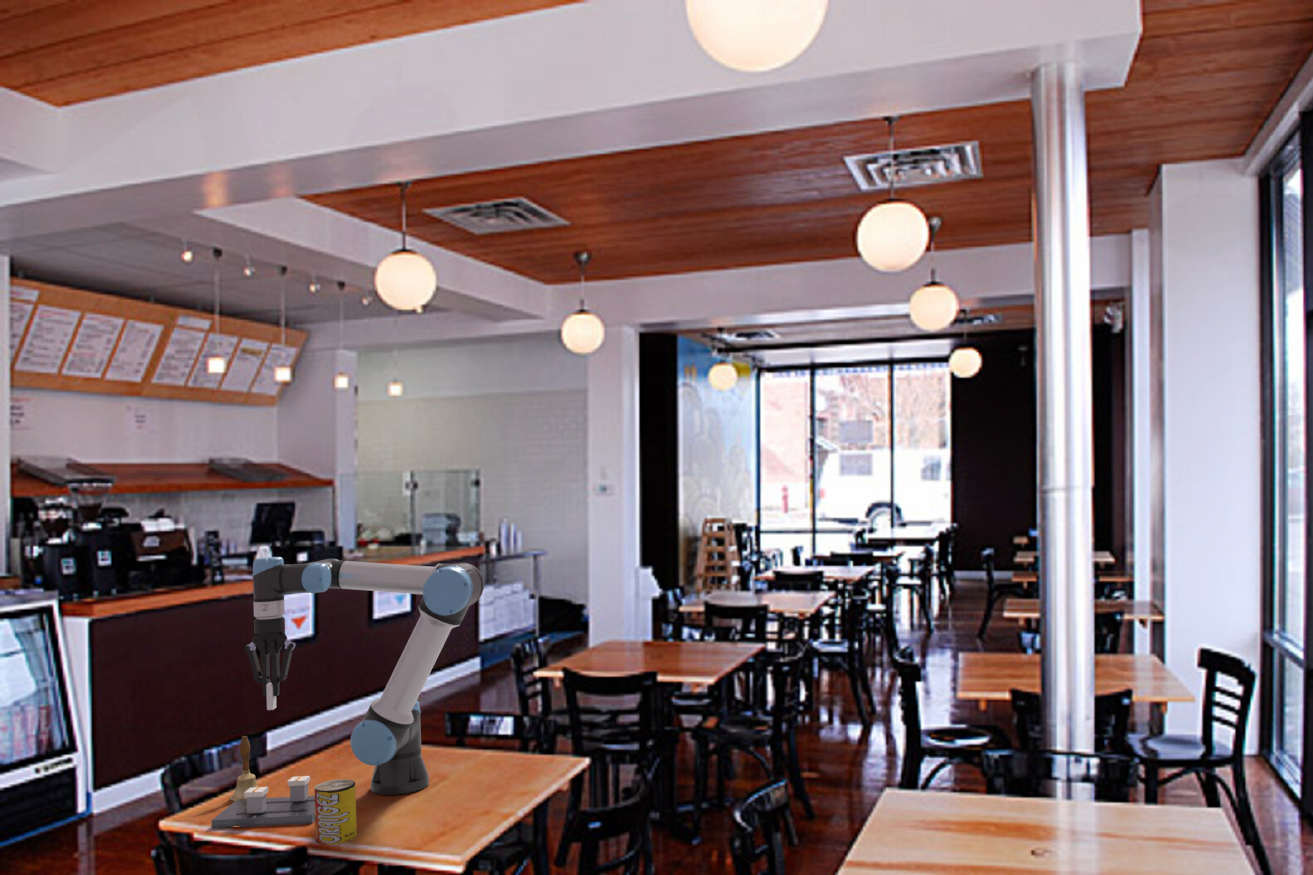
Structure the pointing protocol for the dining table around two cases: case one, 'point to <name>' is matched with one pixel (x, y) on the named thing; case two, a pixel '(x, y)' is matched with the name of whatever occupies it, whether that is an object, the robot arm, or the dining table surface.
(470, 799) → the dining table surface
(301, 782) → the block
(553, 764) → the dining table surface
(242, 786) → the hand bell
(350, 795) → the beverage can
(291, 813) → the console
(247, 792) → the fader near
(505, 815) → the dining table surface
